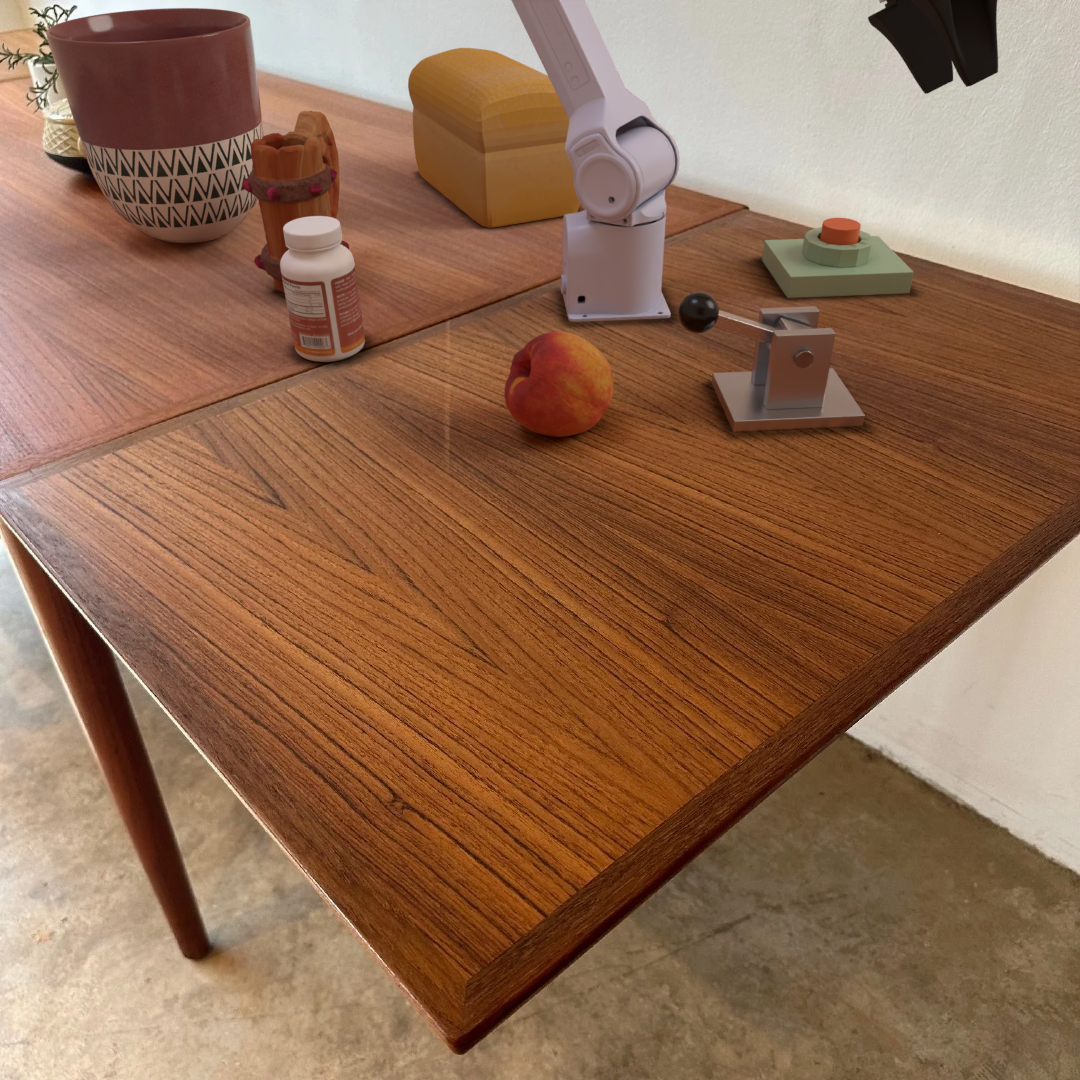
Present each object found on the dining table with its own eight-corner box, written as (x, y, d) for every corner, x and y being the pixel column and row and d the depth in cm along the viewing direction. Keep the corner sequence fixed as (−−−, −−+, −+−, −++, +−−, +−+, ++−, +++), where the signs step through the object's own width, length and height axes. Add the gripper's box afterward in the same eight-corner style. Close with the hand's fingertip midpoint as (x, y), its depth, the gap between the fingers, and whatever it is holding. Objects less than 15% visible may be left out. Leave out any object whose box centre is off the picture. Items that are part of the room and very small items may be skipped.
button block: (787, 298, 97) (793, 258, 94) (761, 260, 105) (766, 222, 102) (909, 293, 97) (918, 253, 95) (874, 256, 105) (881, 218, 103)
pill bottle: (353, 328, 92) (337, 207, 86) (375, 355, 88) (359, 229, 81) (287, 342, 90) (265, 219, 84) (305, 370, 86) (284, 242, 79)
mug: (328, 308, 96) (304, 145, 87) (249, 302, 97) (218, 141, 88) (378, 254, 108) (362, 105, 99) (307, 249, 109) (284, 102, 100)
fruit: (509, 404, 80) (506, 310, 76) (610, 405, 80) (614, 310, 75) (503, 456, 74) (500, 357, 69) (613, 456, 74) (617, 357, 69)
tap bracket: (732, 435, 76) (743, 346, 72) (711, 385, 82) (719, 301, 78) (862, 429, 76) (880, 340, 72) (830, 380, 83) (845, 296, 79)
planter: (65, 254, 109) (0, 35, 96) (181, 200, 123) (137, 4, 111) (214, 277, 103) (165, 48, 90) (317, 217, 117) (287, 13, 104)
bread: (585, 213, 117) (586, 74, 108) (482, 230, 113) (475, 87, 104) (504, 159, 135) (500, 37, 126) (413, 172, 131) (402, 47, 122)
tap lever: (675, 333, 73) (692, 296, 72) (668, 316, 76) (684, 280, 74) (805, 373, 76) (824, 338, 75) (795, 356, 79) (813, 321, 77)
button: (826, 248, 97) (829, 230, 96) (815, 235, 100) (818, 218, 99) (862, 247, 97) (865, 229, 96) (850, 234, 100) (853, 216, 99)
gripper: (1002, -178, 61) (1063, 45, 65) (915, -116, 75) (970, 65, 79) (892, -118, 62) (960, 97, 66) (826, -68, 75) (885, 108, 80)
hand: (959, 83), depth 73 cm, fingers open, 7 cm apart
